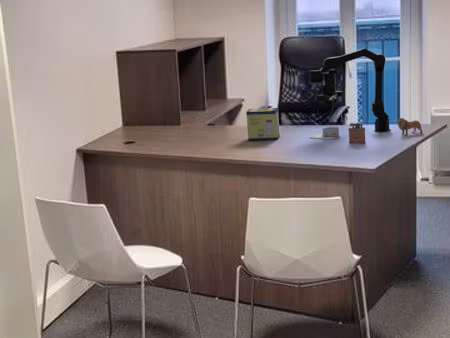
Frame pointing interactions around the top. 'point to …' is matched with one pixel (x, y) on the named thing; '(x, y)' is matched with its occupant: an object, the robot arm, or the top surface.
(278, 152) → the top surface
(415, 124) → the lion figurine
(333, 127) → the medicine box
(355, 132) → the lighter
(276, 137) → the protein box
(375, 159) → the top surface
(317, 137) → the felt pad
